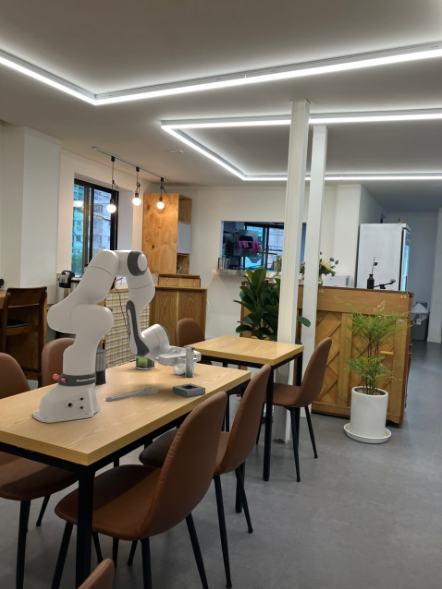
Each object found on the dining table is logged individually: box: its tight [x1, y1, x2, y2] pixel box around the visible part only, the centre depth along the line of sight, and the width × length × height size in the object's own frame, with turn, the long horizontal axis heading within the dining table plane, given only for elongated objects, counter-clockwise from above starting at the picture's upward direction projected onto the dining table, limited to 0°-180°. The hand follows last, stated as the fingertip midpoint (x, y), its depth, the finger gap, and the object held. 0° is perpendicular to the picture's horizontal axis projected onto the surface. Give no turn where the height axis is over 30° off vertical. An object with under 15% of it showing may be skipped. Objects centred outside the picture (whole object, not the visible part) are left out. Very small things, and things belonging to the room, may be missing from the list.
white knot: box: [172, 362, 197, 376], centre depth 233 cm, size 11×12×9 cm
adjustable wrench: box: [105, 386, 160, 403], centre depth 191 cm, size 25×6×2 cm, turn 132°
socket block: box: [171, 382, 206, 398], centre depth 197 cm, size 10×10×2 cm
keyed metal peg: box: [184, 345, 196, 379], centre depth 197 cm, size 4×5×13 cm
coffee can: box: [135, 355, 156, 370], centre depth 246 cm, size 10×10×14 cm
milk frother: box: [95, 348, 107, 386], centre depth 211 cm, size 14×16×15 cm
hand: (191, 361), depth 196 cm, fingers closed on keyed metal peg, 3 cm apart
